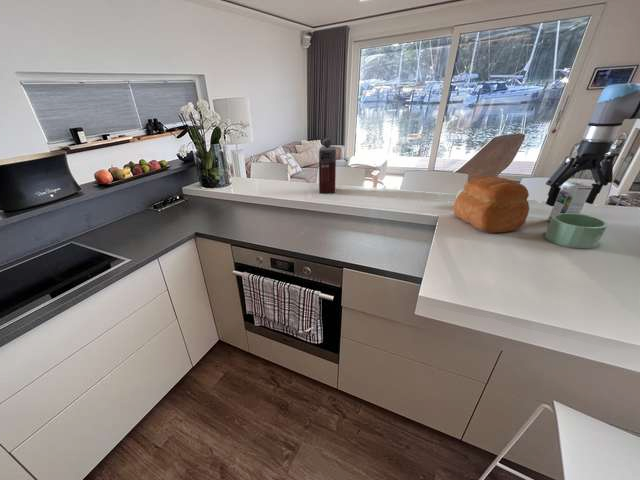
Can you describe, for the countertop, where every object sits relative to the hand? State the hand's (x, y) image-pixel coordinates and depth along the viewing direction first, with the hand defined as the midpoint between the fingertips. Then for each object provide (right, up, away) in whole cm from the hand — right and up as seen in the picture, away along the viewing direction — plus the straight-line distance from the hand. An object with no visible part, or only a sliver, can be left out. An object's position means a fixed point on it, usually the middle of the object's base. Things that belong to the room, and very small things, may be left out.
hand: (568, 204), depth 103 cm
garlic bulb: (-22, +4, +25) cm, 33 cm away
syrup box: (+1, -6, +4) cm, 7 cm away
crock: (-8, -14, -8) cm, 18 cm away
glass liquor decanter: (-78, +20, +60) cm, 100 cm away
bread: (-24, -6, +9) cm, 26 cm away
